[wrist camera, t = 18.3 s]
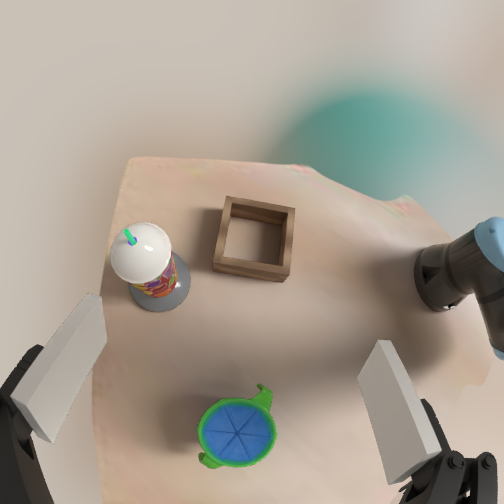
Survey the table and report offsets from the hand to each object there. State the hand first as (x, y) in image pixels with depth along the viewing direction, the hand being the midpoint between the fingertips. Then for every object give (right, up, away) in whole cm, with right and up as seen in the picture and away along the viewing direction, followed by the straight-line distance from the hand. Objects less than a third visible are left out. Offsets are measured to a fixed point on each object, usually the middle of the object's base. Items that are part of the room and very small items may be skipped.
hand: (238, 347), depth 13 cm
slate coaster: (-15, -1, +36) cm, 39 cm away
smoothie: (-15, -1, +35) cm, 39 cm away
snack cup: (-2, -23, +29) cm, 38 cm away
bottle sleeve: (+1, +6, +41) cm, 41 cm away
